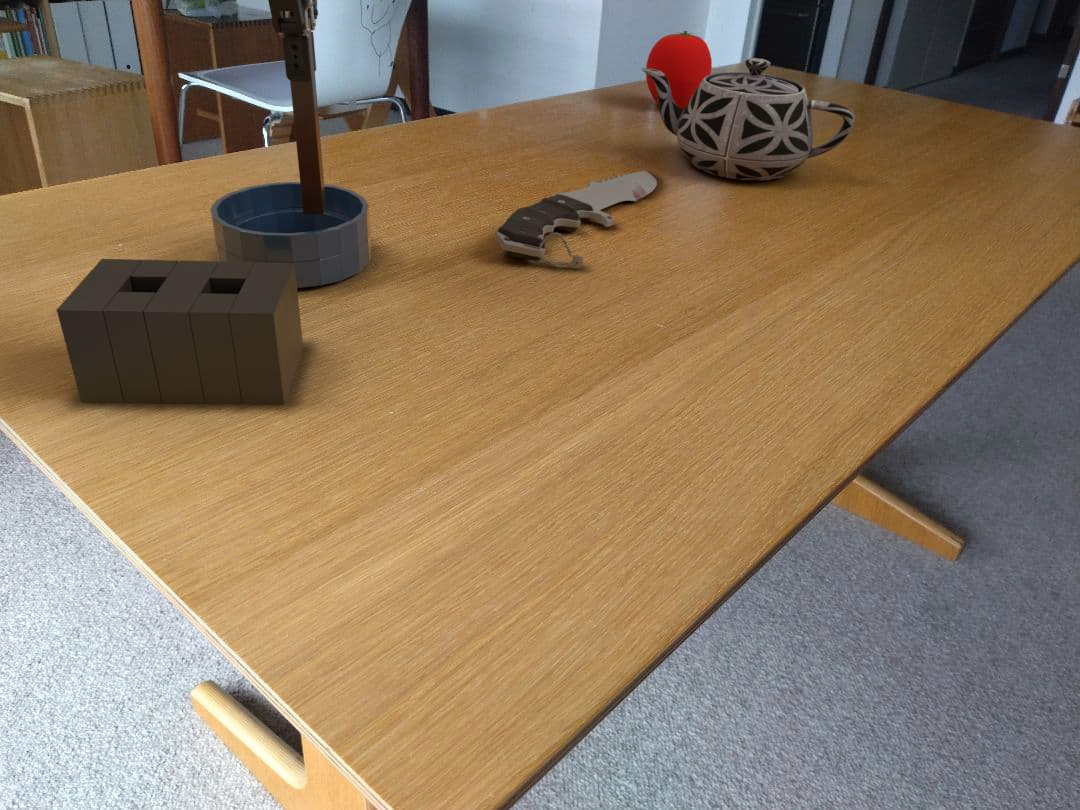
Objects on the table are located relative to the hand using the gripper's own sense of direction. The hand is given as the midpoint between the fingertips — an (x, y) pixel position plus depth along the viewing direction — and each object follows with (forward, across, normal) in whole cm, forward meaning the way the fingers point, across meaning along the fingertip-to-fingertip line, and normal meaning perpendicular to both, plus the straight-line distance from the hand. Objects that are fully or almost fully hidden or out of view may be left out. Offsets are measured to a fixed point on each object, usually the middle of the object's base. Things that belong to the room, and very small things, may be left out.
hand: (301, 76), depth 81 cm
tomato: (+19, -71, +52) cm, 90 cm away
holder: (+19, +23, -6) cm, 30 cm away
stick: (+13, 0, 0) cm, 13 cm away
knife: (+19, -16, +30) cm, 39 cm away
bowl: (+19, 0, -2) cm, 19 cm away
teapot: (+19, -38, +54) cm, 69 cm away
